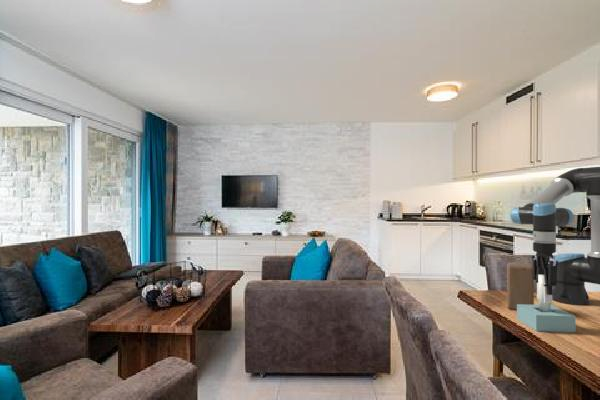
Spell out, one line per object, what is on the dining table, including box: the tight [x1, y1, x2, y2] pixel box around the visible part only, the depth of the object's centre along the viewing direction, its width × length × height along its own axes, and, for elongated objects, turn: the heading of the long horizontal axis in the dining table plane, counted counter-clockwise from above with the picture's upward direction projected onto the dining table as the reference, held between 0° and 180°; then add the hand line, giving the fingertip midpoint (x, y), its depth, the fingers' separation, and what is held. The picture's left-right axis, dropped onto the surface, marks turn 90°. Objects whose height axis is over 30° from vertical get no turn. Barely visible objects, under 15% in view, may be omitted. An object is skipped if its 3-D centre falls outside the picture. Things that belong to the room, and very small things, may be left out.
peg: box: [537, 274, 552, 312], centre depth 140 cm, size 4×4×14 cm
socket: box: [516, 304, 577, 333], centre depth 140 cm, size 14×14×6 cm
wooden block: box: [506, 262, 535, 311], centre depth 161 cm, size 10×10×20 cm
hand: (544, 300), depth 140 cm, fingers closed on peg, 4 cm apart
